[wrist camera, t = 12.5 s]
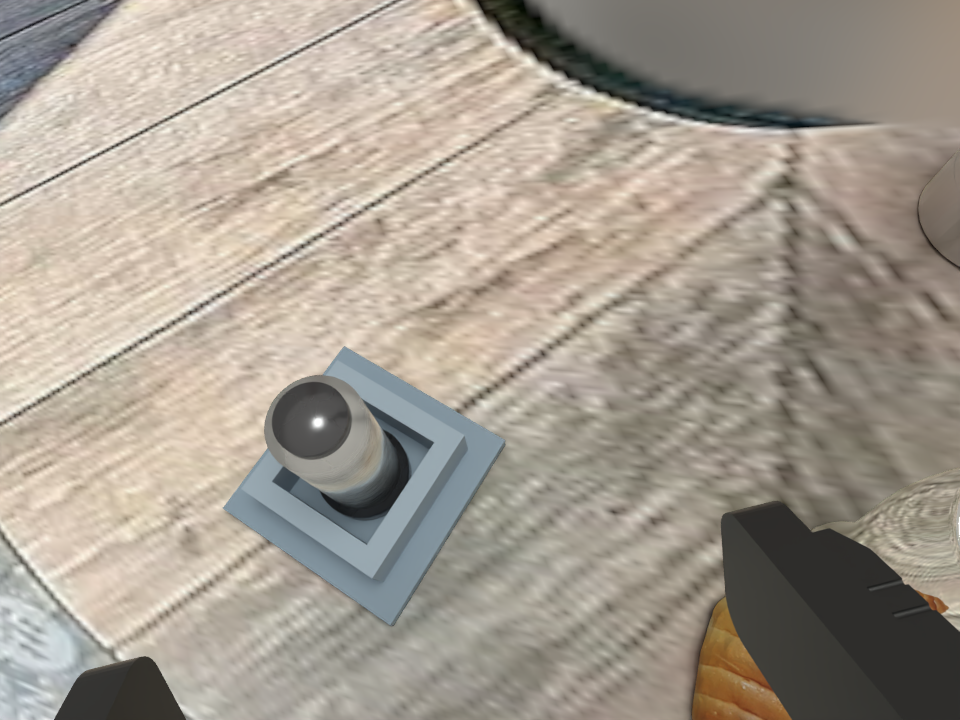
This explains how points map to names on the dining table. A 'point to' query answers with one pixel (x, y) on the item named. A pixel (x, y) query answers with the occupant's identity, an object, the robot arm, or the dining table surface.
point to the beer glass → (918, 538)
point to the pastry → (731, 677)
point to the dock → (413, 517)
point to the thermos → (337, 446)
